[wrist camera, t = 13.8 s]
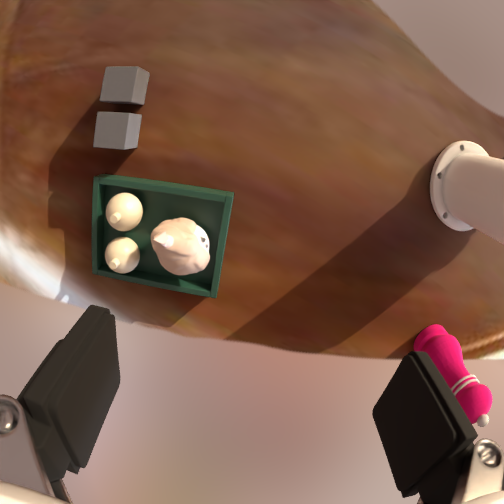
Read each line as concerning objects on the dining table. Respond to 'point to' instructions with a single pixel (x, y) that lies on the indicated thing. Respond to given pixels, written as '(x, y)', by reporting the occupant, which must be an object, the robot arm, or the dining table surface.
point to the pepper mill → (455, 372)
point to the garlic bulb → (181, 246)
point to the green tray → (154, 212)
